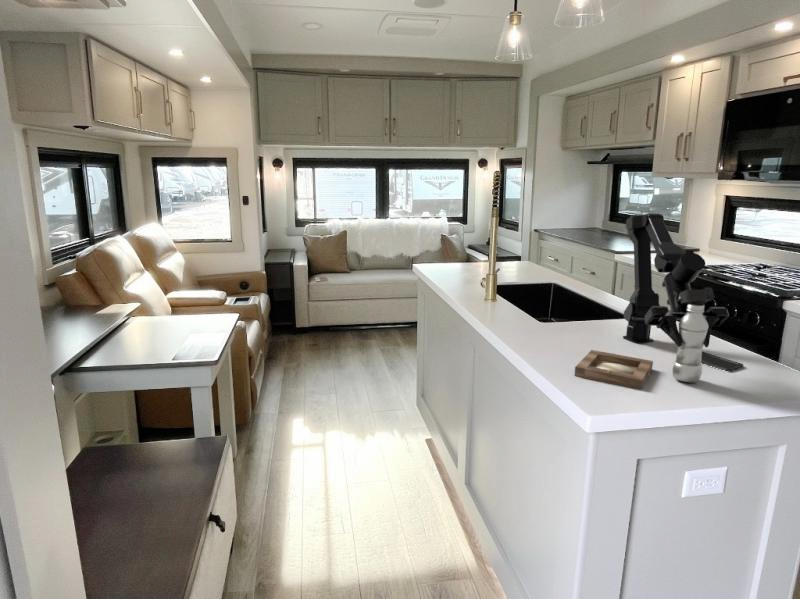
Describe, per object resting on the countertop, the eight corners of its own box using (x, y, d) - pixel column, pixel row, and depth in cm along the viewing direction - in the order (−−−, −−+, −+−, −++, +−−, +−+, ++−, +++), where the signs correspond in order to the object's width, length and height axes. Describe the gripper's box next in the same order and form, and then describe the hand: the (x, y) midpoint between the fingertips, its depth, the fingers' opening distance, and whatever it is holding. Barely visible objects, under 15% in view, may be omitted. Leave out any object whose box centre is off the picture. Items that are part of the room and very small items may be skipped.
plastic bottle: (665, 376, 140) (675, 301, 135) (690, 375, 141) (700, 300, 136) (680, 386, 134) (690, 307, 129) (706, 385, 134) (717, 307, 130)
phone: (692, 348, 159) (745, 364, 146) (692, 352, 159) (744, 368, 147) (675, 353, 155) (728, 369, 143) (675, 356, 156) (727, 373, 143)
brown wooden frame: (590, 357, 153) (591, 349, 153) (652, 369, 145) (653, 360, 144) (574, 375, 140) (575, 366, 140) (640, 389, 132) (641, 379, 131)
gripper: (653, 275, 135) (667, 330, 127) (731, 276, 134) (749, 331, 126) (638, 298, 145) (650, 351, 137) (710, 299, 144) (726, 352, 136)
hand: (693, 346), depth 134 cm, fingers closed on plastic bottle, 6 cm apart
